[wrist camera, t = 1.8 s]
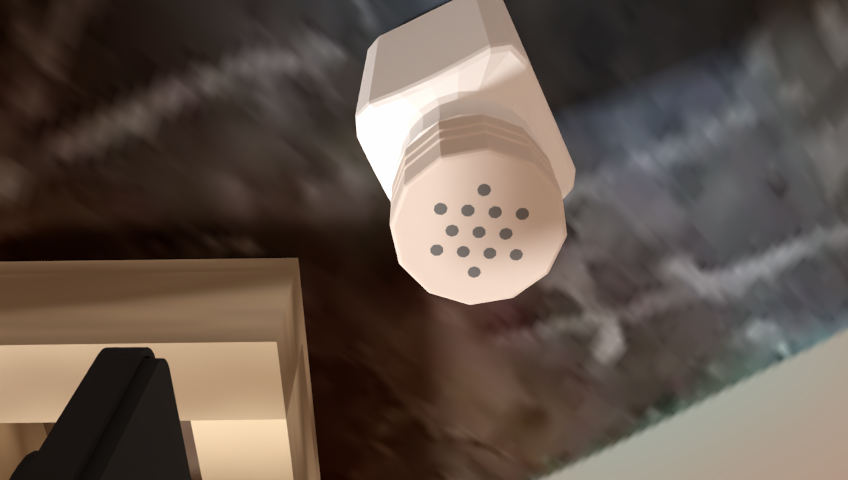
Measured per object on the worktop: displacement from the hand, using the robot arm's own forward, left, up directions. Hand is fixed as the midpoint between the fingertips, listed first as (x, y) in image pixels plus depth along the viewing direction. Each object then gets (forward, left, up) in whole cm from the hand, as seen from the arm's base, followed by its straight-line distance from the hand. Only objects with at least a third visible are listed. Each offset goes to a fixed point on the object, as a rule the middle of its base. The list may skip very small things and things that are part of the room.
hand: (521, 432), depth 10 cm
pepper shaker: (-1, 0, -14) cm, 14 cm away
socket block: (+11, -11, -14) cm, 21 cm away
